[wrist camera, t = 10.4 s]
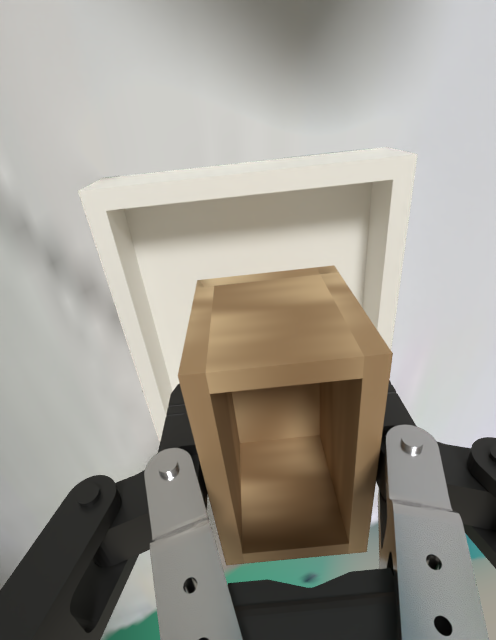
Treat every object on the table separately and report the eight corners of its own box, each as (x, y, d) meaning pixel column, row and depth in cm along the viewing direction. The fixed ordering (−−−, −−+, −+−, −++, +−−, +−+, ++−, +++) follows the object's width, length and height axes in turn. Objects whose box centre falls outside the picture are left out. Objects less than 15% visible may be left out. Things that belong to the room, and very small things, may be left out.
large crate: (167, 403, 23) (159, 441, 20) (102, 177, 16) (78, 191, 13) (364, 383, 23) (381, 418, 20) (386, 147, 16) (417, 154, 13)
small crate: (227, 442, 16) (226, 565, 12) (197, 280, 12) (177, 375, 8) (330, 432, 16) (366, 551, 12) (334, 265, 12) (392, 353, 8)
